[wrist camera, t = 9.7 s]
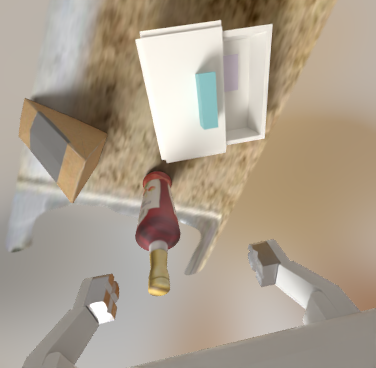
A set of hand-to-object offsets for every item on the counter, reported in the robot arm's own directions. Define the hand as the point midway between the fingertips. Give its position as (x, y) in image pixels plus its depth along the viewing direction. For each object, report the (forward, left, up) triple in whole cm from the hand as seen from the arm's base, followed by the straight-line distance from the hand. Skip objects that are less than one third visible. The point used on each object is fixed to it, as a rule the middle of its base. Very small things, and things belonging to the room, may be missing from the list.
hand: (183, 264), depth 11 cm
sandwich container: (-2, -20, -36) cm, 41 cm away
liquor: (+13, -4, -35) cm, 38 cm away
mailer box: (-5, +14, -35) cm, 38 cm away
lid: (-5, +5, -30) cm, 30 cm away
